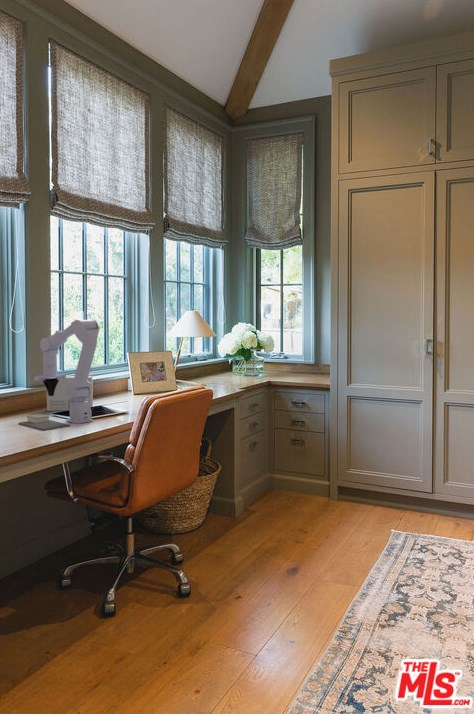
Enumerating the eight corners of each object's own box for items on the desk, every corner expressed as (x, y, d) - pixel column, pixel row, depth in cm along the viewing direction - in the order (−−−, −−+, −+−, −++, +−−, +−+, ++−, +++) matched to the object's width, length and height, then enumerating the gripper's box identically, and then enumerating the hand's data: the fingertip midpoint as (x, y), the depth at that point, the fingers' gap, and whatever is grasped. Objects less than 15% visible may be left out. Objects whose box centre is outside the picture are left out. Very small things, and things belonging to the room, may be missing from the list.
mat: (70, 426, 247) (70, 424, 247) (43, 430, 238) (43, 429, 238) (44, 420, 261) (44, 418, 260) (18, 424, 252) (18, 422, 252)
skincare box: (46, 411, 283) (45, 377, 281) (47, 409, 288) (47, 376, 286) (92, 409, 287) (92, 376, 285) (93, 407, 292) (92, 375, 291)
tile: (35, 423, 251) (48, 420, 255) (35, 418, 251) (48, 416, 255) (27, 420, 256) (39, 418, 260) (26, 416, 255) (39, 414, 260)
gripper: (59, 363, 275) (60, 393, 276) (30, 365, 264) (31, 396, 265) (68, 364, 270) (69, 394, 271) (39, 367, 259) (39, 398, 260)
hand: (51, 395), depth 268 cm, fingers closed
